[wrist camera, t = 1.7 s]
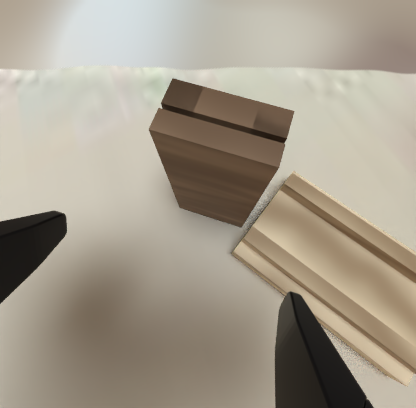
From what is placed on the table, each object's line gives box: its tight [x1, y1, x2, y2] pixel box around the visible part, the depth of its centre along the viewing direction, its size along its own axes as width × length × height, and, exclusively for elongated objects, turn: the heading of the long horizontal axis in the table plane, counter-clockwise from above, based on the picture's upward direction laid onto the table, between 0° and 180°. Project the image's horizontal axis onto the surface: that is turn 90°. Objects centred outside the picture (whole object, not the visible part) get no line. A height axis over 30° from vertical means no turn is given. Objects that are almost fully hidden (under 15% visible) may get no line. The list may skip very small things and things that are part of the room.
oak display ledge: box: [231, 171, 416, 387], centre depth 20 cm, size 9×15×3 cm, turn 52°
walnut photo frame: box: [149, 79, 294, 227], centre depth 17 cm, size 3×6×12 cm, turn 72°
